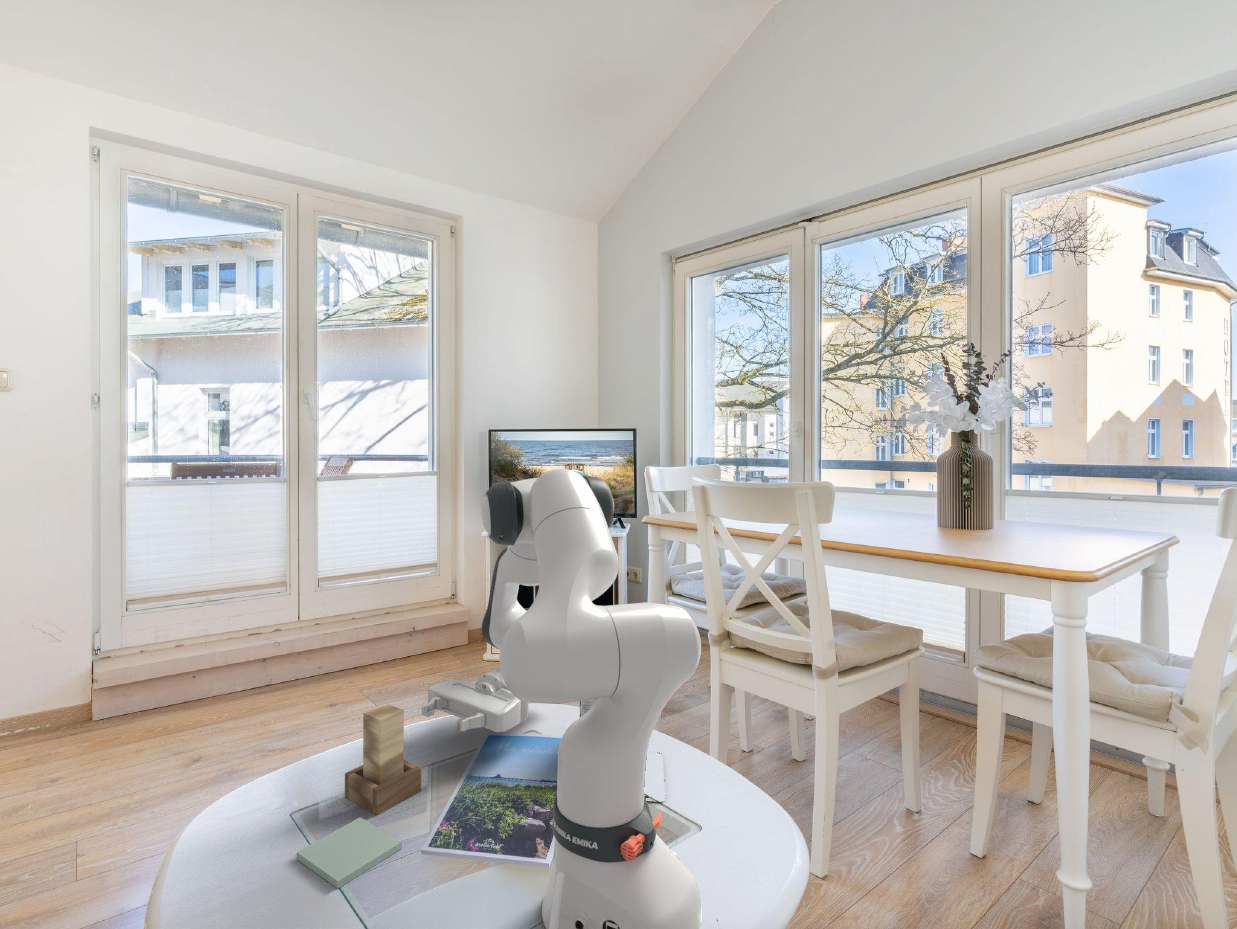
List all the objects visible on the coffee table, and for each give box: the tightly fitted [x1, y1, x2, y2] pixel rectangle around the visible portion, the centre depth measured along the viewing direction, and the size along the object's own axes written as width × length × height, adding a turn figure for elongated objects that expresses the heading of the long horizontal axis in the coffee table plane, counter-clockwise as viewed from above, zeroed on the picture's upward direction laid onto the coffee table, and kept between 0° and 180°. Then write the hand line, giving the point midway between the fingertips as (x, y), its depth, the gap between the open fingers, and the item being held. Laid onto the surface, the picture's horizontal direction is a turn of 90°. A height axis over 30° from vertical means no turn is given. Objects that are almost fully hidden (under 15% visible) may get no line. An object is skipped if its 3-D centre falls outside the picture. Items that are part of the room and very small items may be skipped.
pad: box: [296, 816, 403, 889], centre depth 91 cm, size 10×10×1 cm
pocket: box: [344, 759, 422, 816], centre depth 106 cm, size 8×8×4 cm
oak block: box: [362, 703, 405, 786], centre depth 105 cm, size 4×4×14 cm
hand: (441, 718), depth 115 cm, fingers open, 8 cm apart
